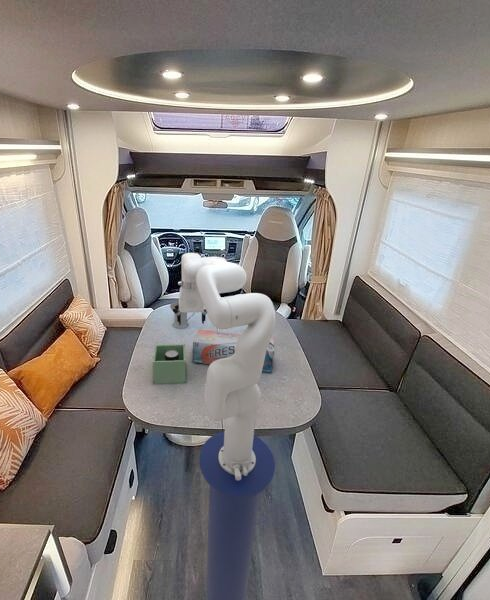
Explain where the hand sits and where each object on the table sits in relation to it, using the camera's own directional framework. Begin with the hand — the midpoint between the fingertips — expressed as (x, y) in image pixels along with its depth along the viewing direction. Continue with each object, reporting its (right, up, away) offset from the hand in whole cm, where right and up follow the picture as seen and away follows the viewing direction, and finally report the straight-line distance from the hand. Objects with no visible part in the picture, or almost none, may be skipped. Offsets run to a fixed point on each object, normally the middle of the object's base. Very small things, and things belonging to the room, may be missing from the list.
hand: (191, 322), depth 131 cm
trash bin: (-11, -26, +21) cm, 35 cm away
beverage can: (-10, -26, +18) cm, 34 cm away
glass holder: (-8, -6, +68) cm, 69 cm away
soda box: (+20, -22, +32) cm, 44 cm away
